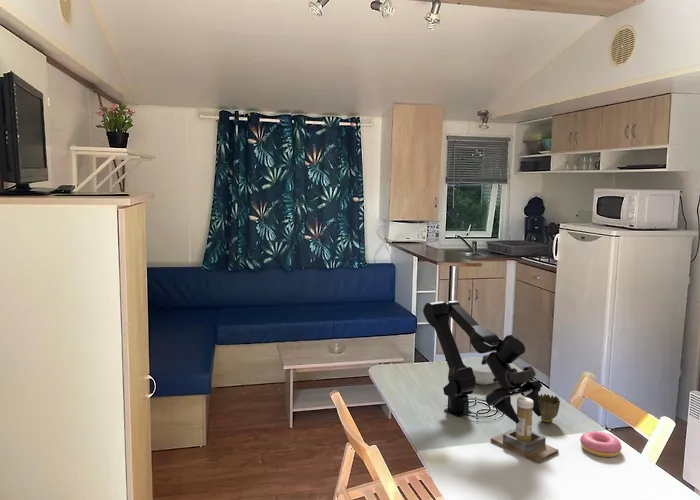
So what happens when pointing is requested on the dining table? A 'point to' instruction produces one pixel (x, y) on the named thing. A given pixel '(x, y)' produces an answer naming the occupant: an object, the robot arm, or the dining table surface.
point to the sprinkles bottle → (524, 419)
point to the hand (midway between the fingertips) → (529, 419)
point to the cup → (548, 407)
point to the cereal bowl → (479, 370)
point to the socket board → (526, 446)
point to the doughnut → (600, 444)
